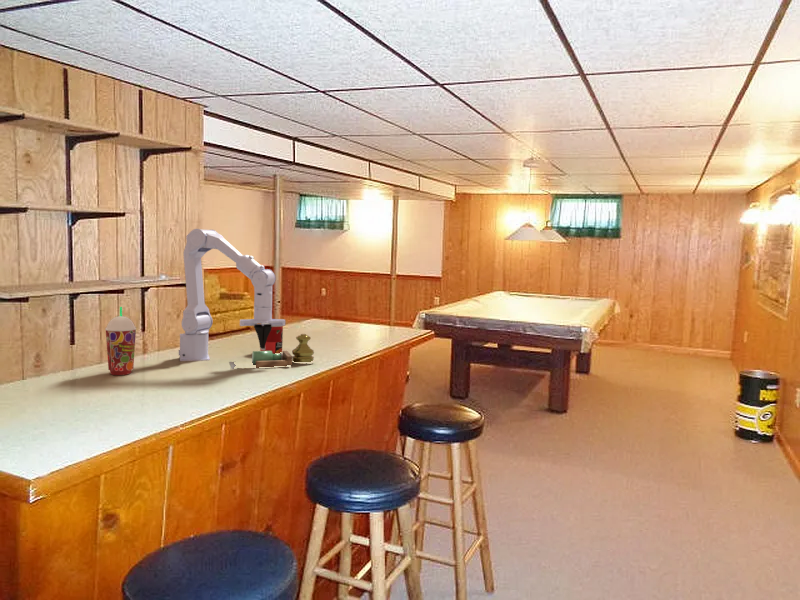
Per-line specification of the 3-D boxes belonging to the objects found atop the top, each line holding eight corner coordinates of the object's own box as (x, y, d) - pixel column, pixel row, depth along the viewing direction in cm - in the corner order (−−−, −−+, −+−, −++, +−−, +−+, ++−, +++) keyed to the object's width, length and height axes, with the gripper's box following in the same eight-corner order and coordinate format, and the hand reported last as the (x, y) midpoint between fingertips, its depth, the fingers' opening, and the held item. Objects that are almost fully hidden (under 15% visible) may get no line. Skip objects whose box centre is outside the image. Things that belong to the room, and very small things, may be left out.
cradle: (232, 370, 190) (232, 358, 190) (229, 362, 201) (229, 351, 201) (292, 368, 197) (292, 356, 196) (286, 361, 208) (286, 350, 208)
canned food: (279, 355, 217) (280, 325, 216) (257, 354, 217) (258, 324, 216) (284, 352, 225) (285, 322, 224) (263, 351, 225) (263, 321, 224)
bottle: (254, 350, 197) (283, 349, 200) (251, 351, 201) (280, 350, 204) (254, 364, 196) (283, 363, 200) (252, 365, 200) (280, 363, 204)
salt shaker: (316, 361, 209) (316, 333, 208) (310, 365, 202) (311, 336, 201) (295, 360, 210) (295, 332, 209) (289, 364, 202) (289, 335, 202)
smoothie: (124, 377, 175) (124, 309, 173) (99, 375, 177) (98, 307, 175) (142, 371, 183) (142, 306, 181) (117, 369, 185) (117, 304, 183)
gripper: (241, 307, 191) (240, 350, 192) (287, 307, 196) (286, 349, 197) (239, 305, 198) (238, 346, 199) (283, 305, 203) (282, 345, 204)
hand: (262, 347), depth 199 cm, fingers closed
